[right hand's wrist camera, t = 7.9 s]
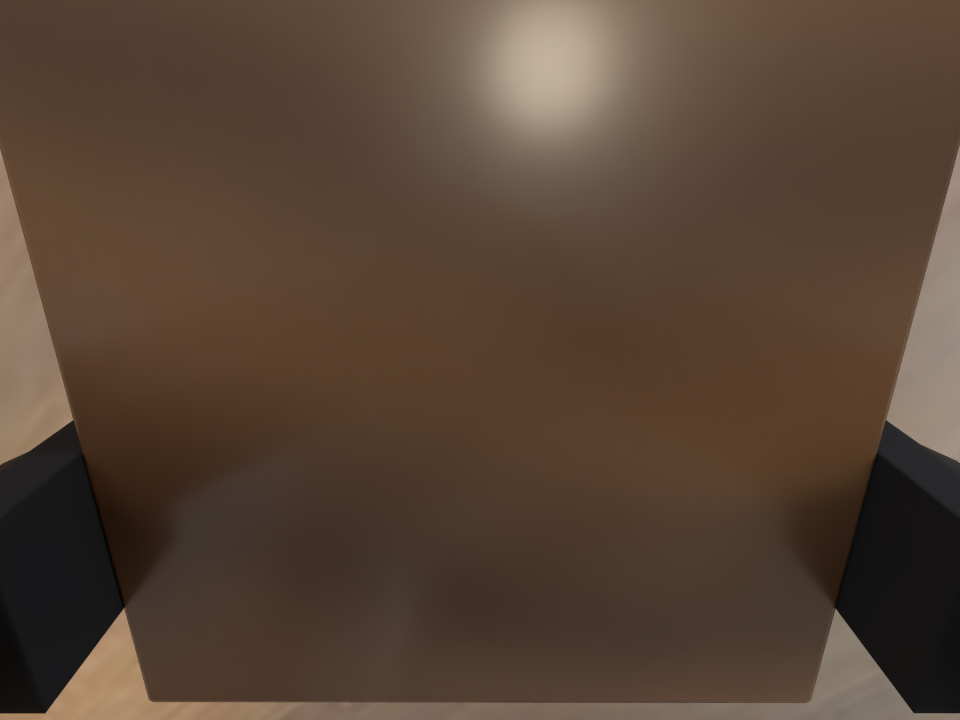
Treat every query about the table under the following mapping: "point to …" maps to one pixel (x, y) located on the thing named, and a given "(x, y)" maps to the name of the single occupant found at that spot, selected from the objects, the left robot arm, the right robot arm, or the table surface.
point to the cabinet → (479, 327)
